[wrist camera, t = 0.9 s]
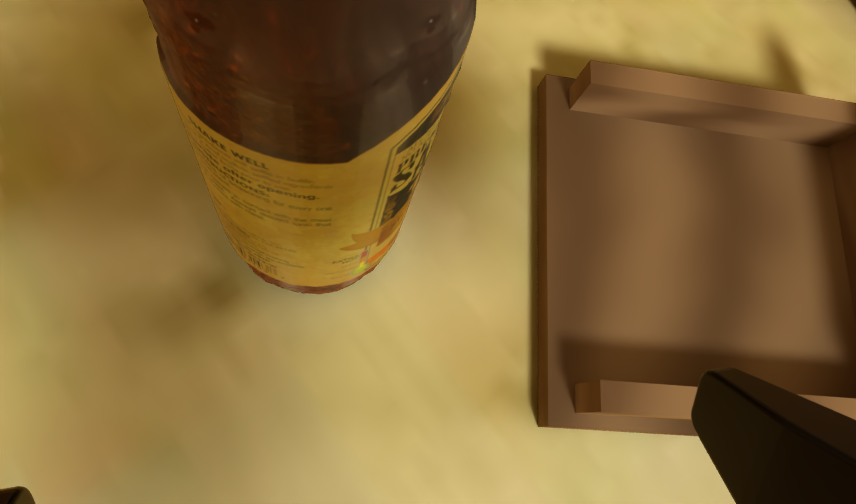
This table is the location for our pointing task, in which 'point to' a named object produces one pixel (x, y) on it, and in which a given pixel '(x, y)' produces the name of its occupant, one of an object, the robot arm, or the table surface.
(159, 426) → the table surface
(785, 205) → the brown wooden tray
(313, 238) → the sauce bottle
